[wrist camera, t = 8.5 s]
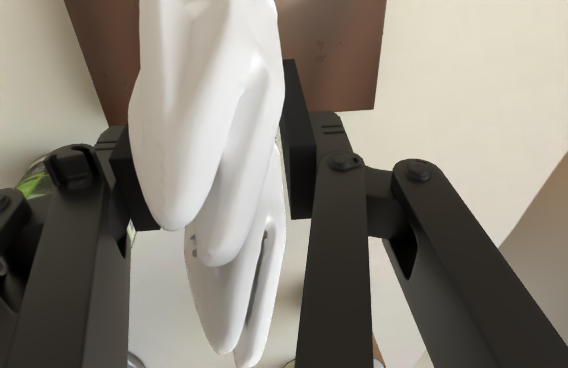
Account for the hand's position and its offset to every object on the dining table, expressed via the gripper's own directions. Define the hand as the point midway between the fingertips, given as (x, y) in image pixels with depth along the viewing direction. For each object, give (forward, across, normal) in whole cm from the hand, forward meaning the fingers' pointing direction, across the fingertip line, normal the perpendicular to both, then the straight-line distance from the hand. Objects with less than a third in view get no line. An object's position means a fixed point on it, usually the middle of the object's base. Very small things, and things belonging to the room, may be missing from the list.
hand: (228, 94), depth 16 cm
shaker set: (+1, 0, 0) cm, 1 cm away
